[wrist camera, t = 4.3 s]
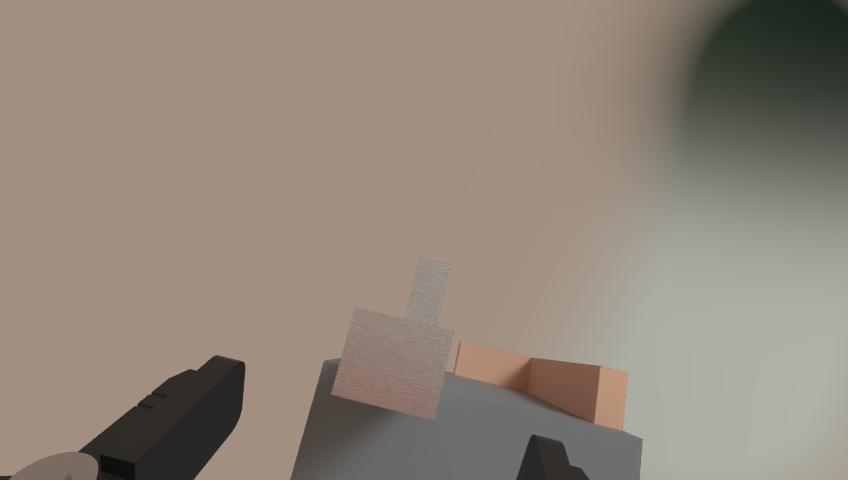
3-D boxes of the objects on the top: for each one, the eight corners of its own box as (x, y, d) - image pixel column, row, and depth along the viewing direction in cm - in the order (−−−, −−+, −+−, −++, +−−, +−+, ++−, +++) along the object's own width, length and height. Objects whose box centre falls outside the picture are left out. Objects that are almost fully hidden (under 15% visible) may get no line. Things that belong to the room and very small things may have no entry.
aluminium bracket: (427, 367, 36) (449, 267, 38) (434, 420, 11) (497, 123, 13) (395, 359, 36) (419, 261, 39) (330, 394, 11) (410, 105, 13)
